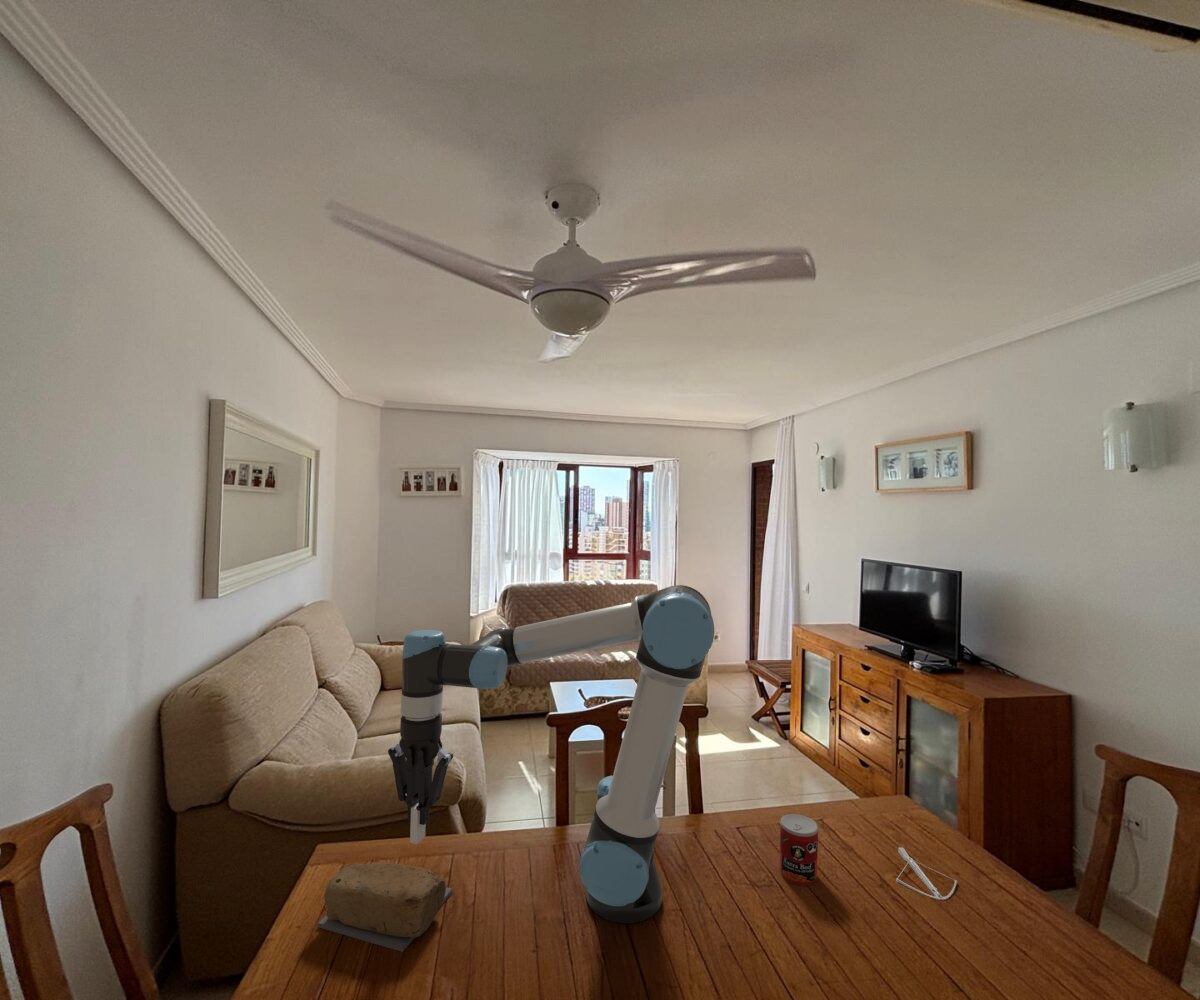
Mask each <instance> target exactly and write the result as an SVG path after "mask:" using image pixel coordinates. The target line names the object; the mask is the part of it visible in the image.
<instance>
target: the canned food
mask: <svg viewBox="0 0 1200 1000" xmlns="http://www.w3.org/2000/svg"><path fill="white" fill-rule="evenodd" d="M818 827H819V826H818V823H817V822H816V821H815V820H814V819H812V818H811V817H808V816H805V815H803V814H800V813H799V814H796V813H788V814H785V815H783V816H781V819H780V828H779V830H780V834H779V871H780V873H781V876H782V877H783V878H784V879H785V880H786V881H788V882H789V883H792V884H795V885H798V886H811V885H812V884H814V883H815V882H816V879H817V877H818V852H819V851H818V849H819V847H818V846H819V828H818Z"/></svg>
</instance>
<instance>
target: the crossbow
mask: <svg viewBox="0 0 1200 1000" xmlns="http://www.w3.org/2000/svg"><path fill="white" fill-rule="evenodd" d="M897 851H898V854H899V855H900V857H902V859H903V860H904V861H906V865H905V866H904V868H903V869H902V871H901V872H900V874H899V875H898V876H897V877H896V879H895V881H896V883H899V884H901V885H902V886H904V887H906V888H908V889H911V890H912V891H914V892H916V893H919V894H920V895H923V896H926V897H928V898H931V899H933V900H938V901H945V900H948V899H950V898H951V896H952V895H953V894H954V893H955V890H956V886H957V885H958V881H957V879H954V878H951V877H949V876H947V875H946V874H943V873H941V872H939V871H937V870H935V869H932V868H931V867H929V866H927V865H925V864H922V863H920V862H918V861H916V860H914V859H913V858H912V857H910V856H909V854H908V853H907V851H906V849H905V848H904V847H898V849H897ZM918 864H919V865H921V866H923V867H925V868H928V869H930V870H931V871H934V872H936V873H938V874H939V875H940V874H941V875H943V876H944V877H947V878H949V879H951V880H953V881H954V883H953V886H952V889H951V890H950V892H949V893H948V894H947V895H945V896H942V895H941V893H940V891H939V890H938V888H937V887H936V886H934V885H933V883H932V882H931V881H930V879H929V878H928V877H927V876H926V875H925V873H924V872H923V870H922V869H921V868H920V866H919V865H918ZM908 865H909V866H910V868H911V869H912V870H913V871H914V872H915V874H916V875H917V876H918V877H919V879H920V880H921V881H922V882H923V884H925V886H926V887H927V888H928V889H929V890H930V892H931V893H932V894H933V895H931V894H928V893H925V892H924V891H921V890H919V889H917V888H915V887H913V886H911V885H909V884H908V883H906V882H904V881H902V880H901V879H899V877H900V876H901V874H902V873H903V871H904V870H905V869H906V867H907V866H908ZM949 897H950V898H949Z"/></svg>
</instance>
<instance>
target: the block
mask: <svg viewBox="0 0 1200 1000" xmlns="http://www.w3.org/2000/svg"><path fill="white" fill-rule="evenodd" d="M446 886H447V885H446V880H445V879H444V878H443V877H441V876H440V875H439V874H438V873H437V872H436V871H434V870H432V869H428V868H424V867H419V866H414V865H409V864H402V863H394V862H373V863H366V864H363V863H362V864H360V863H351V864H347V865H346V866H344V867H343V868H342V869H340V870H339V871H338V872H337V873H336V874H335V875H334V876H333V877H332V878H331V879H329V881H328V883H327V885H326V887H325V890H324V904H325V906H326V907H327V909H326V915H327V917H328V918H329V919H332V920H340V922H342V923H343V924H346V925H349V926H353V927H356V928H360V929H364V930H369V931H376V932H378V933H381V934H387V935H393V936H398V937H410V938H414V939H415V938H417V937H421V936H422V935H423V934H425V932H426V931H427V930H428V928H430V926H431V923H432V922H433V921H434V919H435V918H436V916H437V915H438V911H439V909H440V908H441V907H442V905H443V904H442V902H443V900H444V896H445V891H446ZM441 904H442V905H441ZM440 906H441V907H440ZM439 907H440V908H439Z"/></svg>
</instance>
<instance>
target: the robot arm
mask: <svg viewBox="0 0 1200 1000" xmlns="http://www.w3.org/2000/svg"><path fill="white" fill-rule="evenodd" d="M714 638H715V624H714V618H713V616H712V611H711V607H710V605H709V602H708V601H707V599H706V597H705V596H704V595H703V594H702V593H701V592H700V591H699V590H697V589H695V588H693V587H691V586H688V585H683V584H678V585H677V584H676V585H671V586H668V587H664V588H662V589H658V590H655V591H652V592H648V593H645V594H640V595H636V596H635V598H634V599H633V601H632V602H628V603H622V604H618V605H613V606H610V607H609V606H608V607H604V608H600V609H594V610H590V611H586V612H581V613H576V614H572V615H567V616H562V617H557V618H553V619H547V620H543V621H537V622H535V623H529V624H524V625H520V626H516V627H511V628H507V627H501V628H497V629H494V630H490V632H489V633H487V634H486V635H484V636H482V637H481V638H479V639H478V640H476V641H474V642H473V643H471V644H453V643H446V638H445V634H444V632H442V631H441V630H436V629H421V630H420V629H419V630H414V631H411V632H409V633H407V634H406V635H405V636H404V637H403V647H402V656H401V659H402V664H401V665H402V669H401V671H402V673H401V674H402V677H401V678H402V679H401V682H402V683H401V685H402V687H401V693H400V694H401V695H400V715H402V716H401V717H400V723H399V724H400V728H399V735H400V739H399V743H397V744H395V745H394V746H392V747H390V748H388V750H387V754H388V756H389V758H390V760H391V764H392V768H393V775H394V780H395V786H396V793H397V798H398V801H400V802H404V803H406V806H407V822H408V823H410V830H409V834H410V835H409V843H411V844H414V845H418V844H419V843H420V842H421V841H422V840H423V839H424V838H425V837H426V830H427V829H426V827H427V826H426V825H427V823H428V822H429V820H430V811H431V810H430V808H431V807H433V806H434V805H435V804H436V803H437V802H438V801H439V800H440V799H441V795H442V790H443V787H444V783H445V779H446V774H447V770H448V767H449V764H450V763H451V761H452V760H453V758H454V753H452V752H448V753H447V751H446V750H444V748H443V743H442V739H441V735H442V729H443V728H442V727H443V714H442V711H443V697H444V696H443V691H444V686H450V687H462V688H471V689H478V690H485V689H488V690H489V689H492V690H493V689H498V688H500V687H502V685H503V684H504V680H505V679H506V676H507V672H508V668H509V667H513V666H518V665H522V664H525V663H531V662H535V661H541V660H548V659H551V658H555V657H561V656H565V655H571V654H576V653H581V652H586V651H587V652H588V651H591V650H597V649H601V648H602V649H603V648H605V647H610V646H616V645H620V644H627V643H630V642H637V641H639V643H638V648H637V651H636V656H635V660H636V662H637V664H638V665H639V667H640V674H639V677H638V680H637V685H636V689H635V693H634V696H633V700H632V703H631V708H630V711H629V715H628V717H627V722H626V726H625V729H624V732H623V737H622V740H621V744H620V748H619V752H618V754H617V755H618V756H617V759H616V763H615V766H614V770H613V775H609V776H605V777H604V778H602V779H601V780H600V781H599V782H598V785H597V792H596V795H597V801H596V805H595V807H594V808H595V809H594V813H593V816H592V820H591V823H590V827H589V830H588V834H587V838H586V841H585V844H584V848H583V850H582V851H581V854H580V857H579V877H580V879H581V882H582V884H583V885H584V887H585V888H586V890H585V891H586V894H585V895H586V896H585V897H586V901H587V904H588V906H589V908H591V910H592V911H593V912H594V913H595V914H596V915H598V916H600V917H601V918H603V919H605V920H608V921H611V922H614V923H620V924H635V923H639V922H640V923H641V922H643V921H645V920H648V919H649V918H651V917H653V916H654V915H656V913H658V912H659V909H660V908H661V906H662V900H663V898H662V896H663V888H662V883H661V879H660V875H659V872H658V869H657V865H656V861H655V845H656V841H657V837H658V833H659V830H660V820H659V817H658V816H657V813H656V808H657V807H656V806H657V803H658V800H659V796H660V793H661V789H662V785H663V780H664V778H665V773H666V770H667V766H668V762H669V758H670V755H671V751H672V747H673V743H674V740H675V737H676V736H675V735H676V733H677V729H678V727H679V722H680V718H681V714H682V711H683V706H684V703H685V700H686V695H687V692H688V688H689V685H691V684H692V683H694V682H697V681H698V680H700V678H701V675H702V671H703V666H704V664H705V660H706V657H707V654H708V653H709V651H710V649H711V647H712V645H713V643H714ZM436 758H437V759H436ZM435 759H436V762H435ZM434 762H435V763H436V766H435V769H434V773H433V767H434V764H435V763H434Z"/></svg>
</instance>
